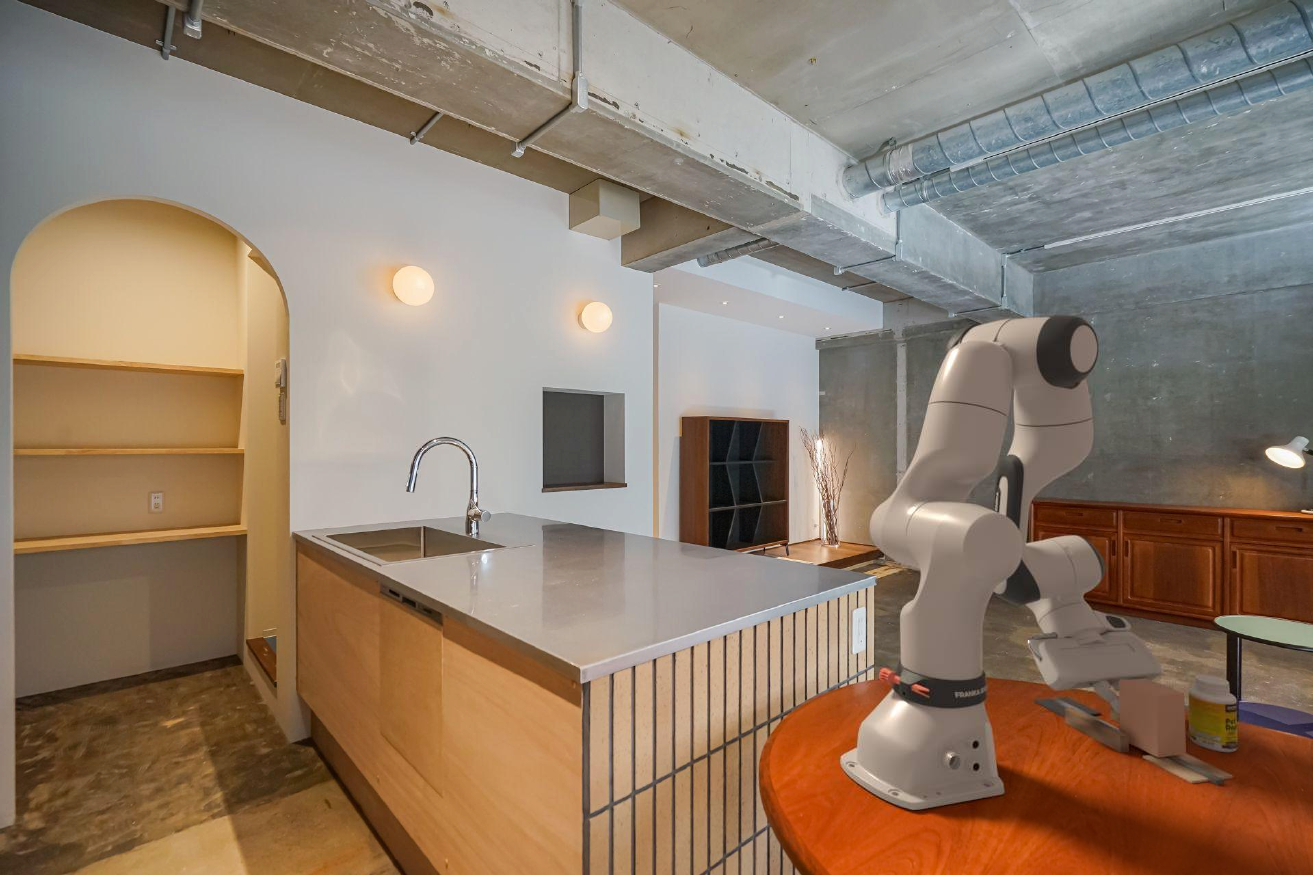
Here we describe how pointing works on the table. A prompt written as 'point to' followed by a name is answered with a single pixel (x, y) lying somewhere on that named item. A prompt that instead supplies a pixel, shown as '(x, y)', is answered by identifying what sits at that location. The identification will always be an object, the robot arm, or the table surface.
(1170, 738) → the block
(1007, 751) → the table surface
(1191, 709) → the supplement bottle
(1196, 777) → the mat
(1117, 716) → the track
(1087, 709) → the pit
